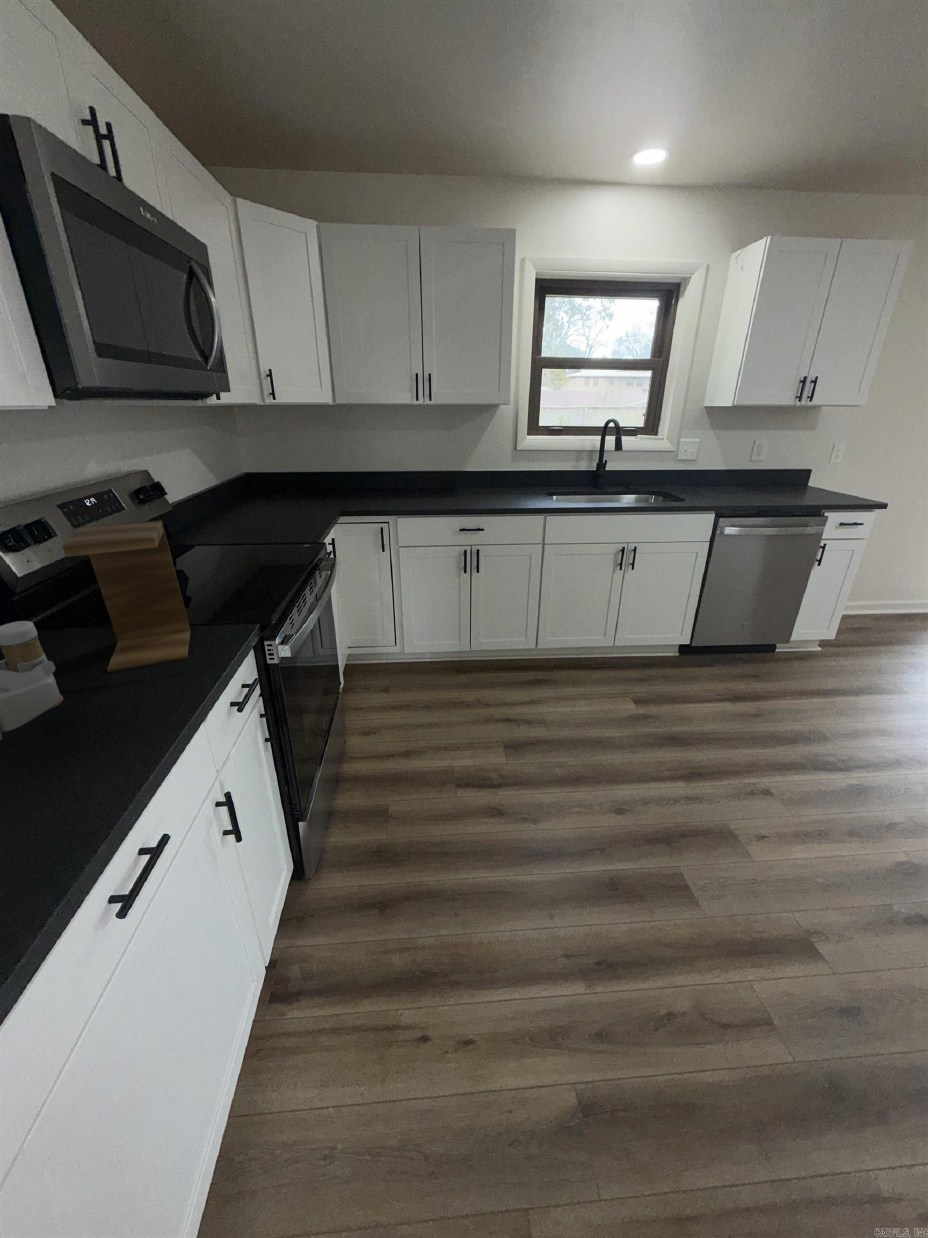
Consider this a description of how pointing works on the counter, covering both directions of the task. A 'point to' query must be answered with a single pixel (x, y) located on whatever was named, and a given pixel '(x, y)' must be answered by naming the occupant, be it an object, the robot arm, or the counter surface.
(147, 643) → the shelf
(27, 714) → the robot arm
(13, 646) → the sprinkles bottle
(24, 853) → the counter surface
